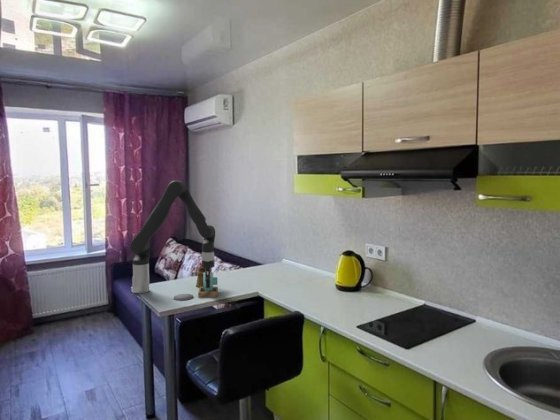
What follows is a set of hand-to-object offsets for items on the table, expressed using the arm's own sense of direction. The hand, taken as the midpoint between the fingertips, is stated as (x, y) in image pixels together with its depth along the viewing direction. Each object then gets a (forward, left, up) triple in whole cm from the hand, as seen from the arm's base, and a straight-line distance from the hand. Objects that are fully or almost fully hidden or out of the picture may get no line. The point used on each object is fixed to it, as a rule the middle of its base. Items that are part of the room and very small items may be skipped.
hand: (208, 285), depth 232 cm
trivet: (-14, -5, -5) cm, 16 cm away
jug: (+1, 0, -5) cm, 5 cm away
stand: (0, 0, -5) cm, 5 cm away
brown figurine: (-3, +17, -5) cm, 18 cm away
